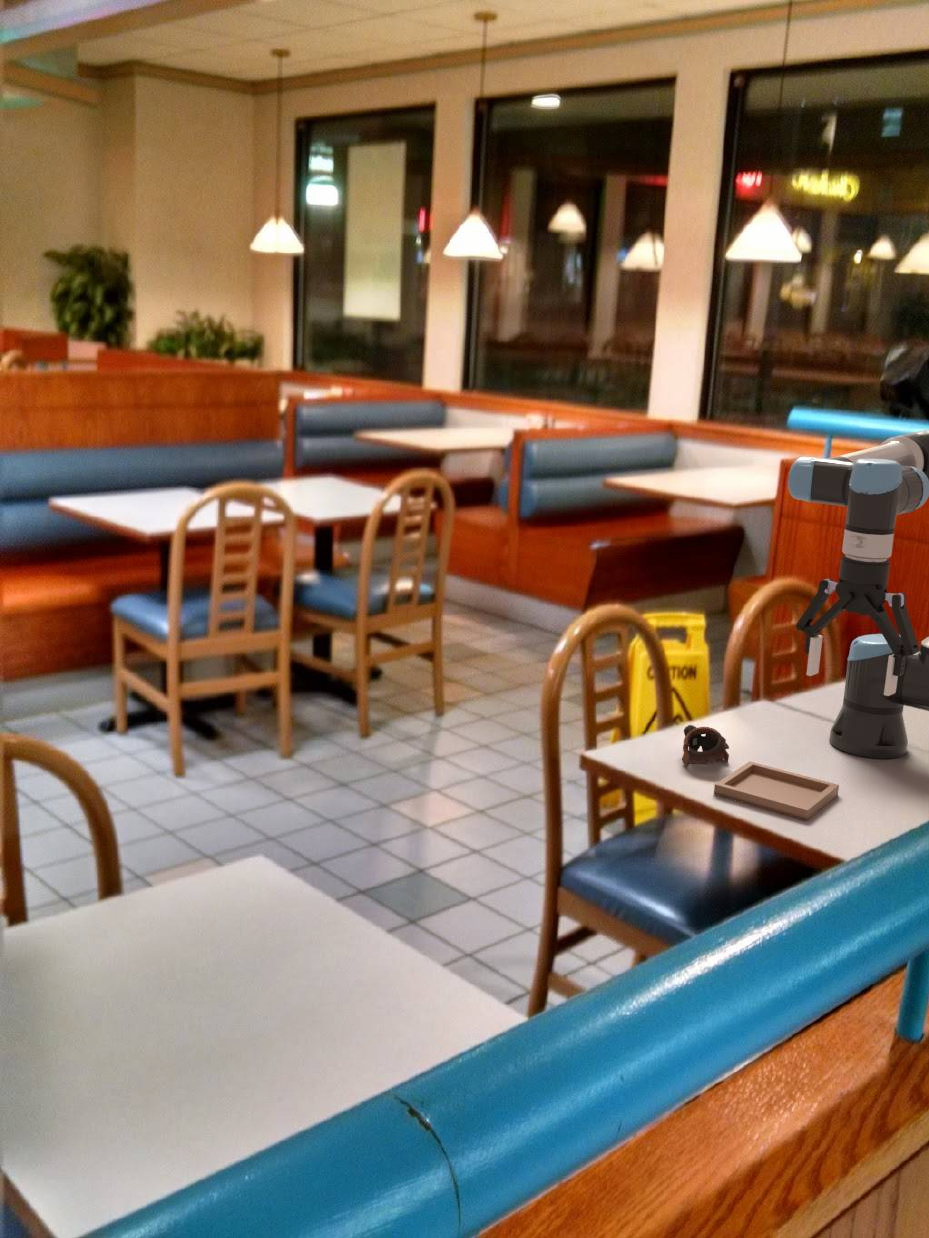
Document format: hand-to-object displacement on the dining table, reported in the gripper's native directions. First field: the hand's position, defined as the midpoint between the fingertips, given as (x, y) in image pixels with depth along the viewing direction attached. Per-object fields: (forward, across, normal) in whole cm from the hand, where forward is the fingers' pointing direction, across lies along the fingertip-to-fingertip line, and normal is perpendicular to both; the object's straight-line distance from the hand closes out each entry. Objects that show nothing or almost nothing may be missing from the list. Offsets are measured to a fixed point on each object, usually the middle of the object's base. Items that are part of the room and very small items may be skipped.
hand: (850, 684), depth 199 cm
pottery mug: (+27, -33, +11) cm, 44 cm away
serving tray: (+26, -15, +7) cm, 31 cm away
